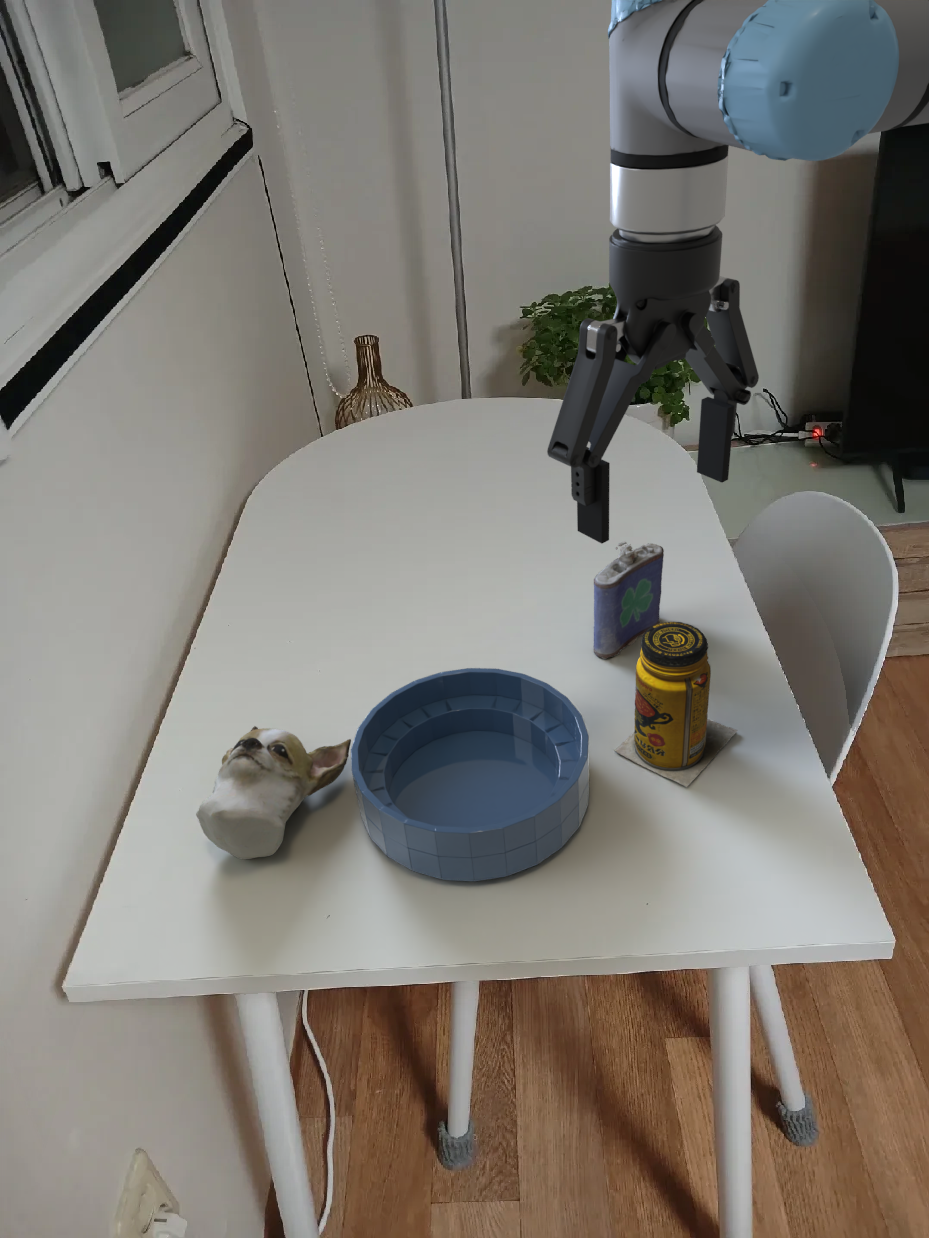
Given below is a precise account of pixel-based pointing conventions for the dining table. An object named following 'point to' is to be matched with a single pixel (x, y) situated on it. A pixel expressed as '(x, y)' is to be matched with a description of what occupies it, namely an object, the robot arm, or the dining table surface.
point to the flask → (627, 598)
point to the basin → (472, 773)
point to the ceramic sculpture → (265, 789)
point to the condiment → (674, 705)
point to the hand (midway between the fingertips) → (655, 505)
